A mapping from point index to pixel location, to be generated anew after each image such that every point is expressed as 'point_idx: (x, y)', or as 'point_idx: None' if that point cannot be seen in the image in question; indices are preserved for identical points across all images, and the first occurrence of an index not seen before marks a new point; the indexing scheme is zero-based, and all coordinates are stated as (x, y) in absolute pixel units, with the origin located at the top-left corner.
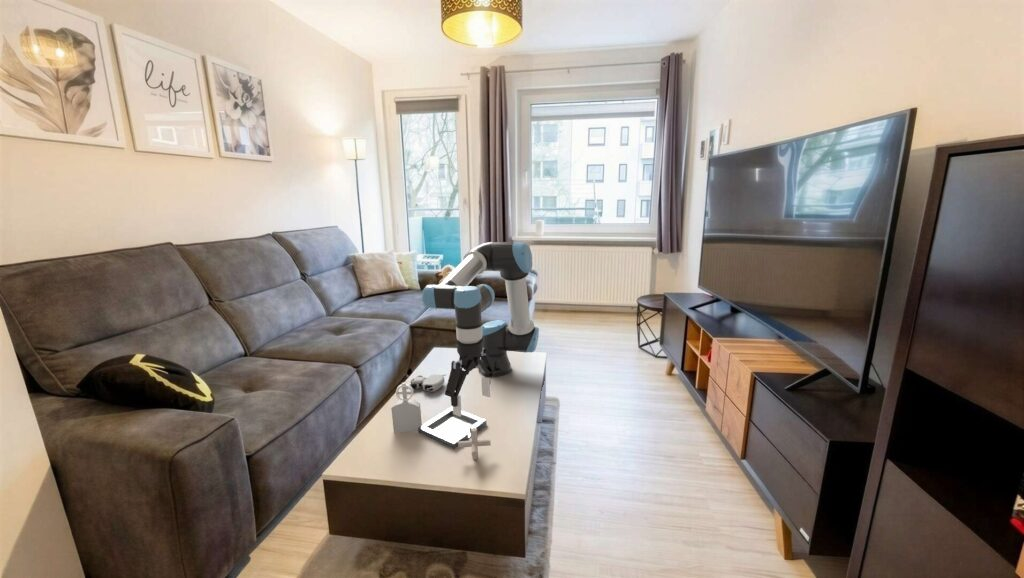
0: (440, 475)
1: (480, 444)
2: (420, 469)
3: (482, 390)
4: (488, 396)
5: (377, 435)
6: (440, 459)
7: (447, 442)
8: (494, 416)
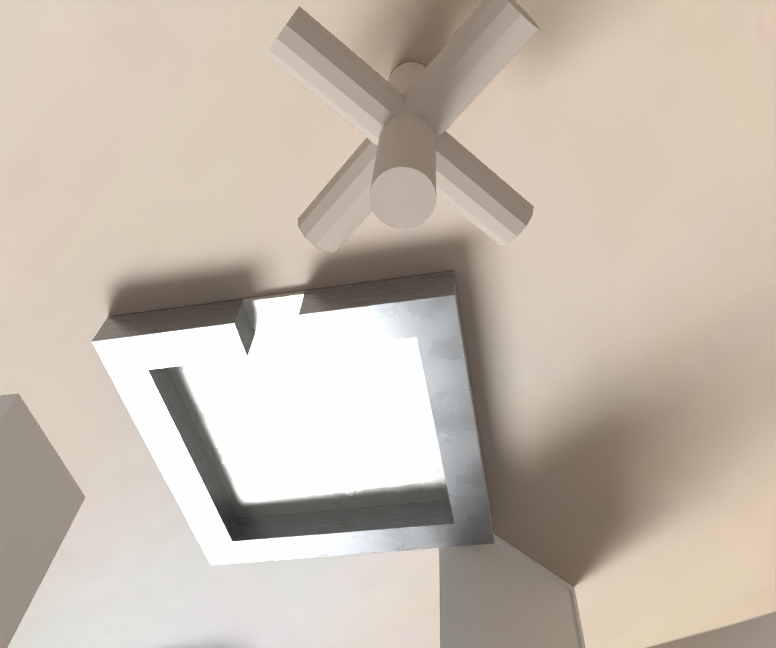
0: (730, 119)
1: (380, 76)
2: (751, 268)
3: (41, 565)
4: (14, 410)
5: (644, 611)
6: (592, 254)
7: (462, 341)
8: (6, 346)
